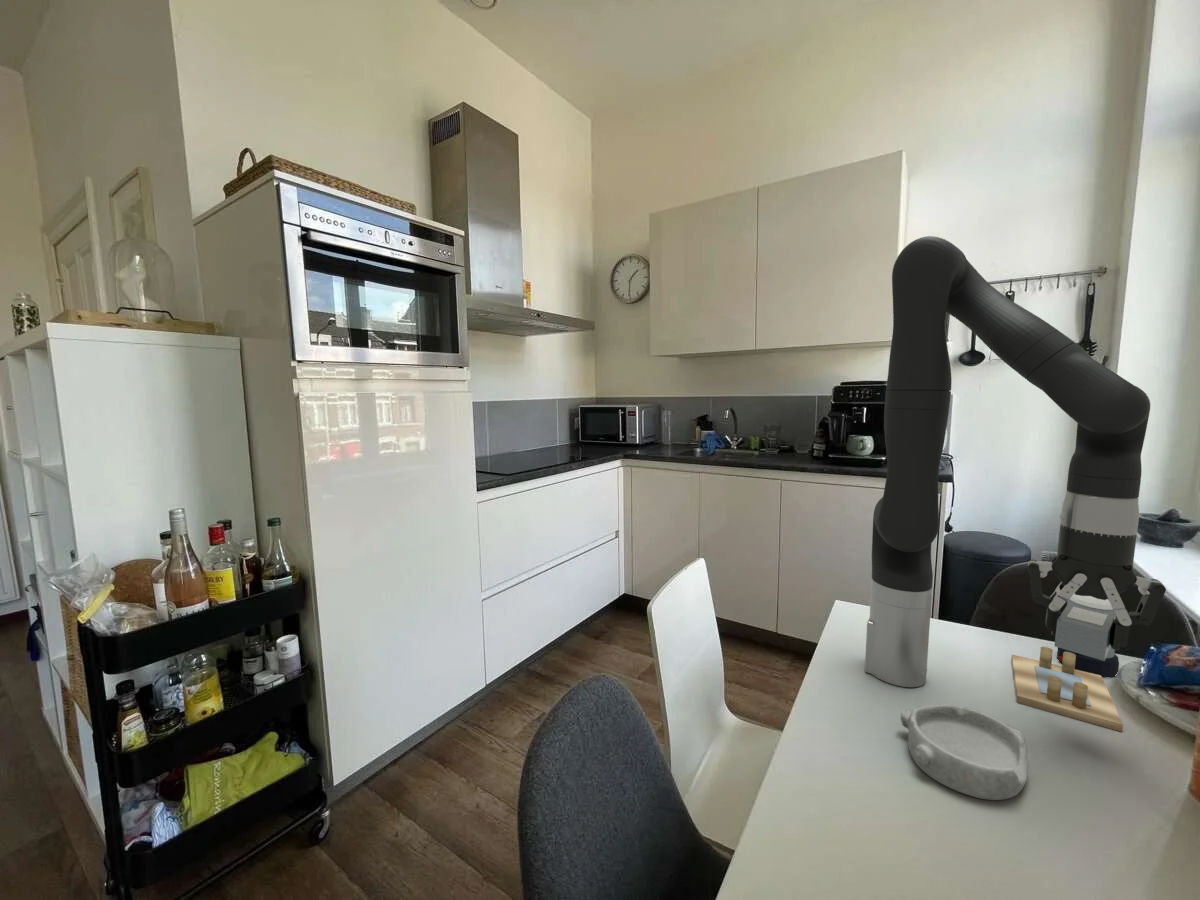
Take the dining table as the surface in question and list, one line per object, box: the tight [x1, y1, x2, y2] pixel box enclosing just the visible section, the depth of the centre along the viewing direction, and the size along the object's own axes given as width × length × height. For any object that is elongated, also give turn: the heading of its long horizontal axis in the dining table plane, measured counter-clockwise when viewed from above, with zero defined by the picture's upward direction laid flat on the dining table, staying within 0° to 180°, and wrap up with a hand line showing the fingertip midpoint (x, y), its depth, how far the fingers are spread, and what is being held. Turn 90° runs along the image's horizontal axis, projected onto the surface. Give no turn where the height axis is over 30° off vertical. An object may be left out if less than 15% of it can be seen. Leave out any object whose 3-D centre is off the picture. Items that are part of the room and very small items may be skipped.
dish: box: [900, 703, 1029, 801], centre depth 67 cm, size 14×14×5 cm
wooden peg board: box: [1010, 646, 1124, 733], centre depth 83 cm, size 16×12×5 cm
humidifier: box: [1056, 593, 1120, 678], centre depth 90 cm, size 8×8×25 cm
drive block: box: [1053, 604, 1115, 661], centre depth 70 cm, size 5×8×4 cm, turn 129°
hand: (1084, 640), depth 70 cm, fingers closed on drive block, 5 cm apart
